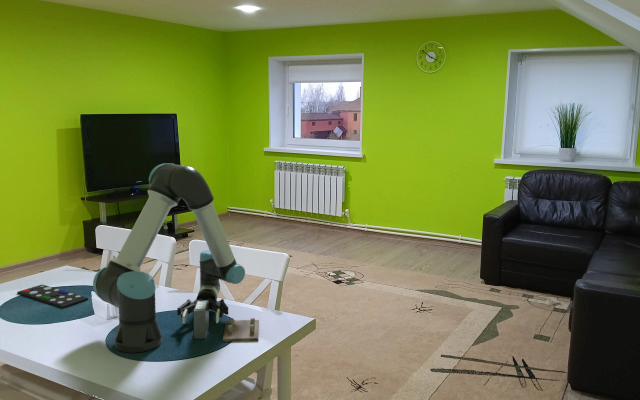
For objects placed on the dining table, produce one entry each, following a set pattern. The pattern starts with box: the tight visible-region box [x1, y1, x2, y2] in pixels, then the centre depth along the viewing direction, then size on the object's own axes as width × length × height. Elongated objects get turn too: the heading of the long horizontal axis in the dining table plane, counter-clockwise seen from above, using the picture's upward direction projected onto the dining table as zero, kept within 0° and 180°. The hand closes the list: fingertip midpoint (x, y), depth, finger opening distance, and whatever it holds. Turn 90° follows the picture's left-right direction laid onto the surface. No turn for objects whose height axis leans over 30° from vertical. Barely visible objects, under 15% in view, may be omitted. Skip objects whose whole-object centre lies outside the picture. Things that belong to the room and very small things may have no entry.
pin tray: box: [222, 317, 260, 342], centre depth 197 cm, size 12×16×4 cm
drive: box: [193, 301, 210, 339], centre depth 195 cm, size 4×10×10 cm, turn 5°
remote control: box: [16, 284, 89, 309], centre depth 227 cm, size 11×30×2 cm, turn 60°
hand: (200, 319), depth 192 cm, fingers open, 11 cm apart
